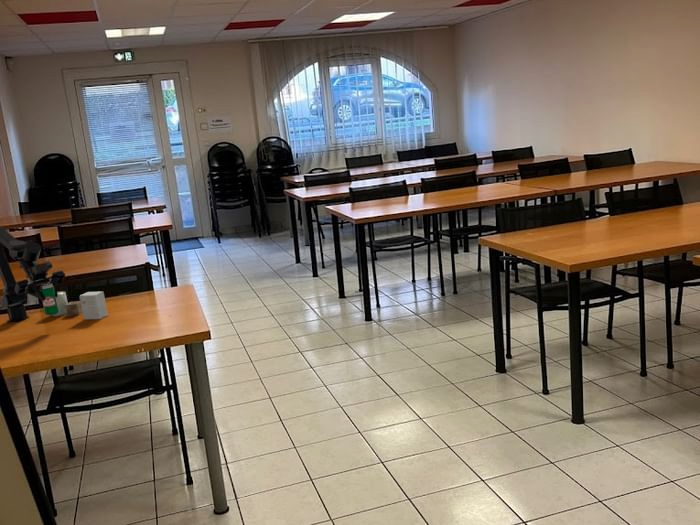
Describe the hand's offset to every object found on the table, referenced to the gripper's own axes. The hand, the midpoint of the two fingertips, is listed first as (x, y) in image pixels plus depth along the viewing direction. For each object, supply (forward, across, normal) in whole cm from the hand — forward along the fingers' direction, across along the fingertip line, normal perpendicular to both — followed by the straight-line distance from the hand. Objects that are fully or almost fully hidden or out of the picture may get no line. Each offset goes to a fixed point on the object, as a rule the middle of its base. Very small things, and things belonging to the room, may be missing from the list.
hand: (50, 298), depth 258 cm
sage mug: (-7, +14, +26) cm, 30 cm away
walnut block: (-1, +16, +21) cm, 26 cm away
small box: (+9, +17, +10) cm, 22 cm away
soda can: (+4, 0, +6) cm, 7 cm away
